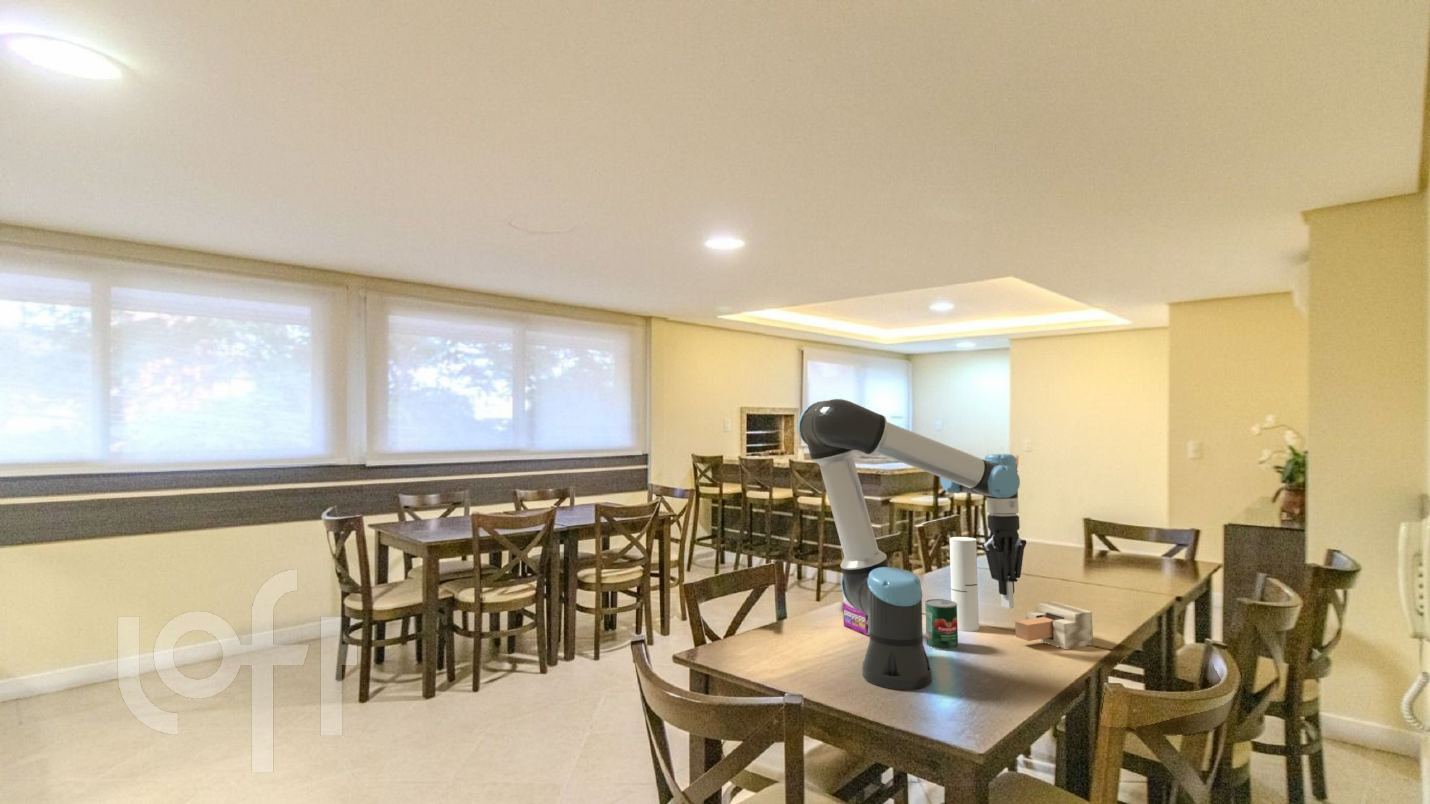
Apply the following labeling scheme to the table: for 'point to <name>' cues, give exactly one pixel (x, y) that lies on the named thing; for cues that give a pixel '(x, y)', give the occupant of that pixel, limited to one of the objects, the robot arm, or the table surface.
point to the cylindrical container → (964, 582)
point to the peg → (1034, 628)
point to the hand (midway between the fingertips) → (1007, 606)
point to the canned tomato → (941, 624)
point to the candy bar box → (855, 618)
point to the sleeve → (1065, 624)
